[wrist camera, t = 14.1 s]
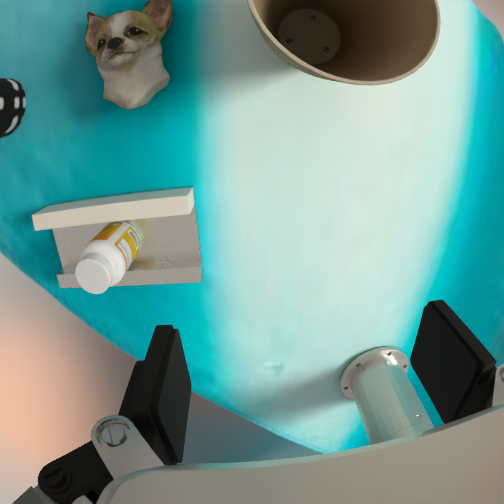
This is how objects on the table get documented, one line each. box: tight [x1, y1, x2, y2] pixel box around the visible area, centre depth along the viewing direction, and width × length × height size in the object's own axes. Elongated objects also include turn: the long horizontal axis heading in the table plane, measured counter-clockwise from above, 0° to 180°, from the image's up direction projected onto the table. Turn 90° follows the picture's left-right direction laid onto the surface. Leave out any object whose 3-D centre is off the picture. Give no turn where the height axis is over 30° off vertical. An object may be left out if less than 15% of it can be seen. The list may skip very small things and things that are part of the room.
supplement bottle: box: [75, 221, 141, 294], centre depth 34 cm, size 5×5×10 cm
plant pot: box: [247, 0, 440, 85], centre depth 23 cm, size 15×15×16 cm
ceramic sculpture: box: [85, 0, 173, 110], centre depth 27 cm, size 11×9×15 cm
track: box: [32, 186, 204, 288], centre depth 37 cm, size 20×11×5 cm, turn 93°
